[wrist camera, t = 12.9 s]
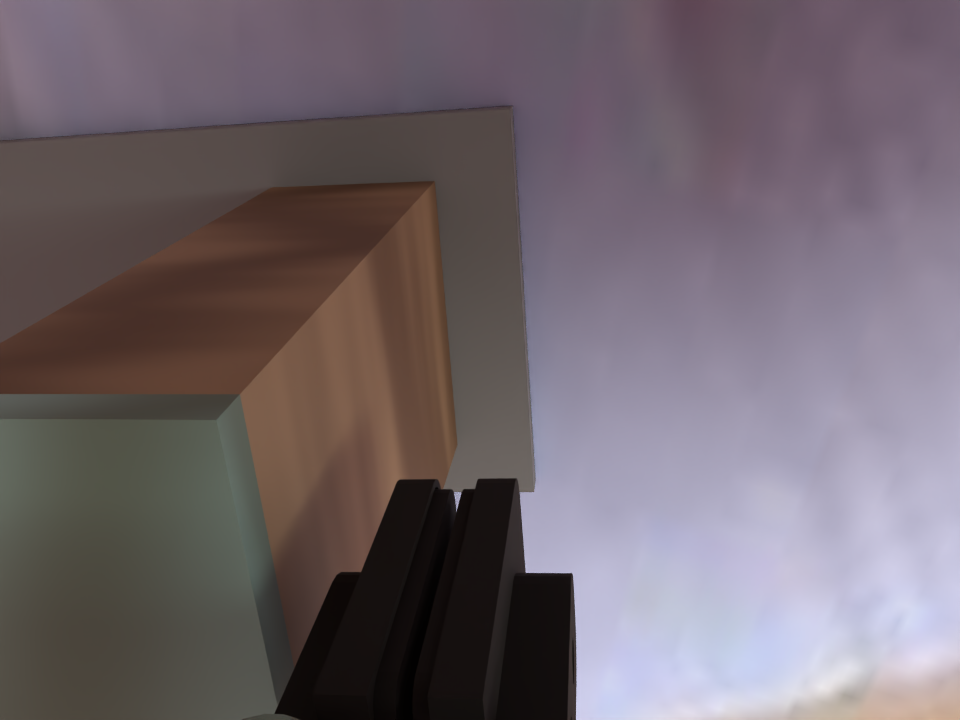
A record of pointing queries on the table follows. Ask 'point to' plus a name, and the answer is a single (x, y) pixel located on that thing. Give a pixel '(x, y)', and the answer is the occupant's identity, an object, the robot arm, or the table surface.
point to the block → (215, 452)
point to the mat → (287, 163)
